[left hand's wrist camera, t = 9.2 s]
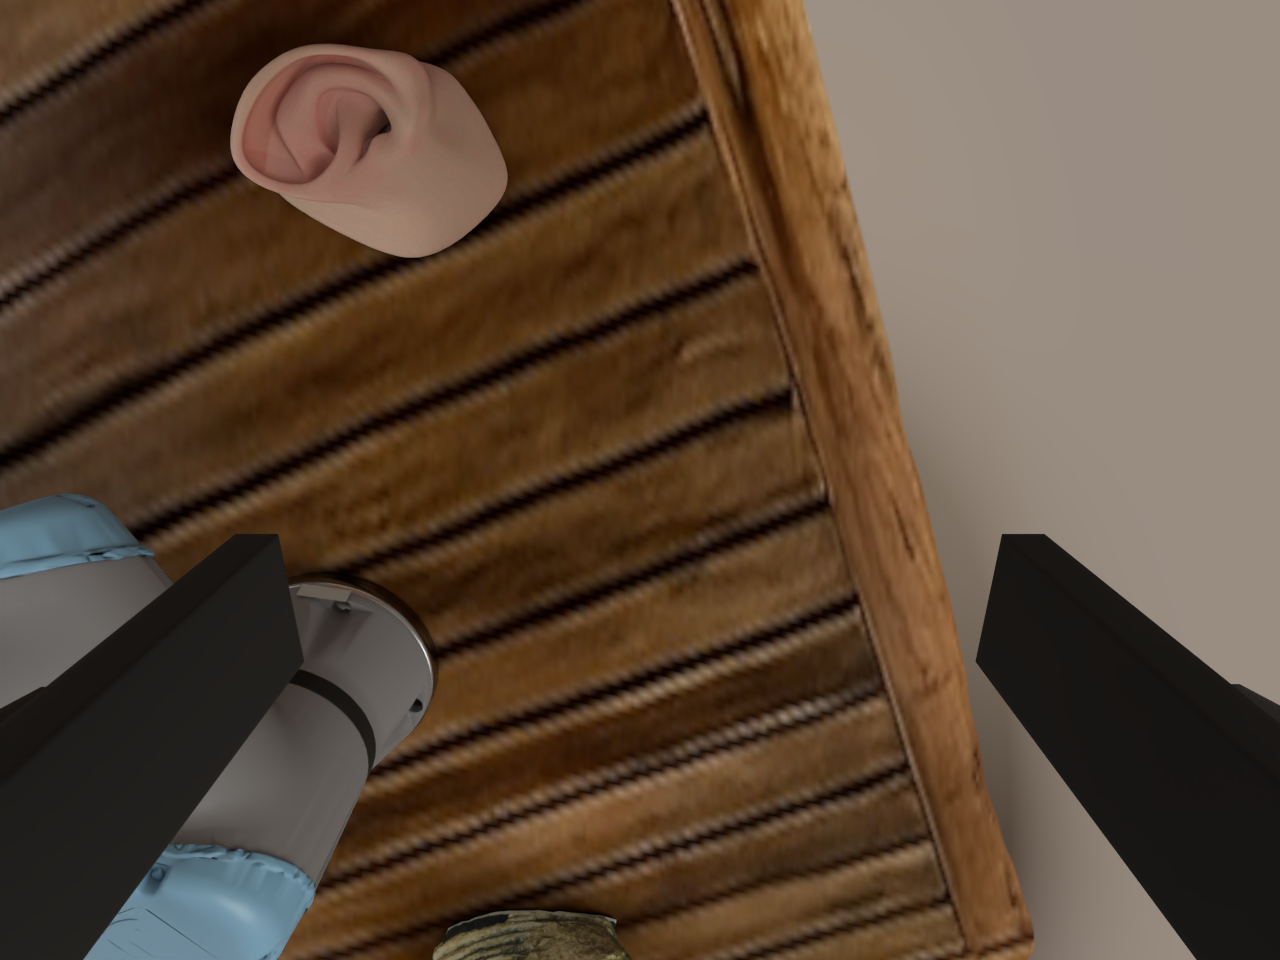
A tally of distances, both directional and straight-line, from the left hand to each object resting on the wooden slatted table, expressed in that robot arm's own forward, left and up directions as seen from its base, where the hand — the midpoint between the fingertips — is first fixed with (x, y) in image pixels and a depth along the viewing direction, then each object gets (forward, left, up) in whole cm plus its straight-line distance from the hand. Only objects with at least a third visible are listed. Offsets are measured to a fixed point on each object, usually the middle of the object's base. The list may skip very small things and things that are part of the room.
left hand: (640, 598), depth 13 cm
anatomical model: (-9, +15, -34) cm, 38 cm away
